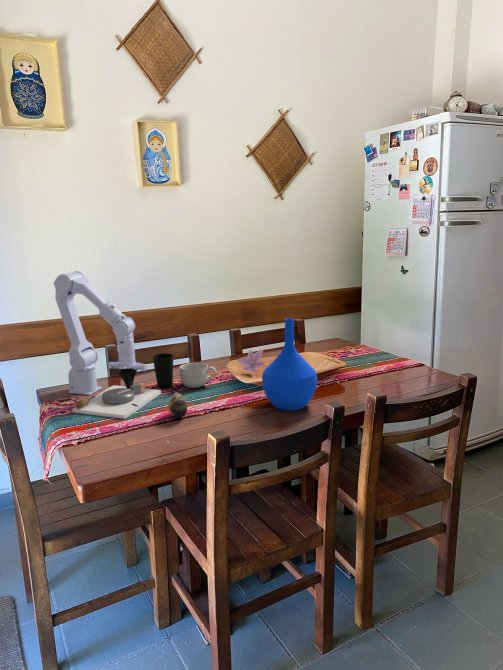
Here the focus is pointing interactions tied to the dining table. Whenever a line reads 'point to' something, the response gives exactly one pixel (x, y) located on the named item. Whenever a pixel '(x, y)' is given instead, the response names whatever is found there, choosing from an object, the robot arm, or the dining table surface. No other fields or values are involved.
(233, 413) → the dining table surface
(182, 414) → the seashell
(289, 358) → the vase
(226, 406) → the dining table surface
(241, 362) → the lily
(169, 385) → the cup
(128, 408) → the board
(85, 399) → the screwdriver
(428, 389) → the dining table surface
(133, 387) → the grey handled disc
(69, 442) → the dining table surface
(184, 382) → the teacup
